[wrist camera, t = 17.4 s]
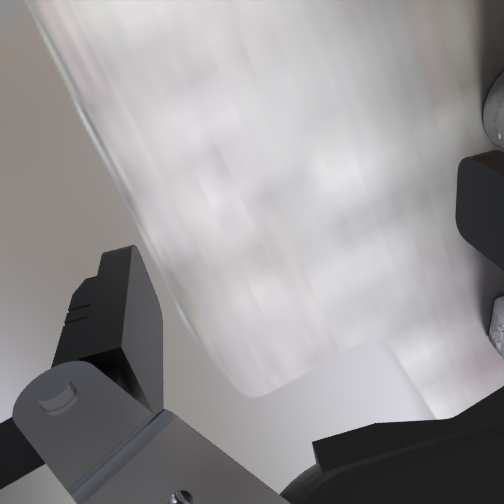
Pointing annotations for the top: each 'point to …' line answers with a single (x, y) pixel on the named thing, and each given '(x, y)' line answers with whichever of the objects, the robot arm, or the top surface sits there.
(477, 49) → the top surface
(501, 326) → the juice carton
